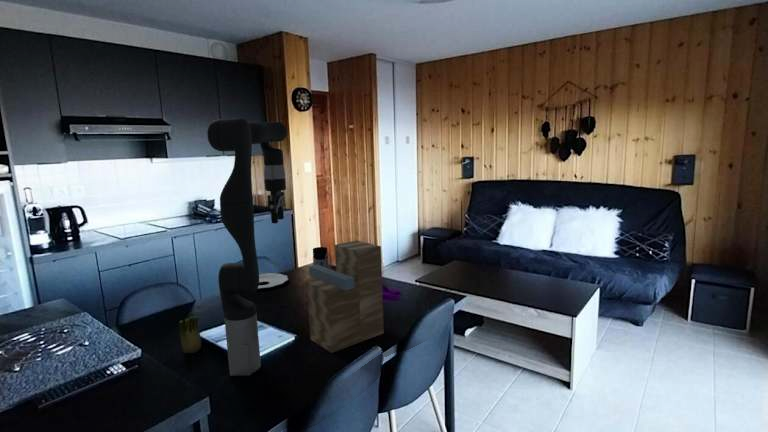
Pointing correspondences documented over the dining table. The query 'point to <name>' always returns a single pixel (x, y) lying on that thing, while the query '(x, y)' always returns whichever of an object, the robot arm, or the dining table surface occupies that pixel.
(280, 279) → the plate
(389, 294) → the cloth
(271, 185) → the robot arm
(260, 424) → the dining table surface
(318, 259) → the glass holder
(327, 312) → the plinth
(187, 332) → the fennel bulb
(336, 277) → the blue-gray bar
